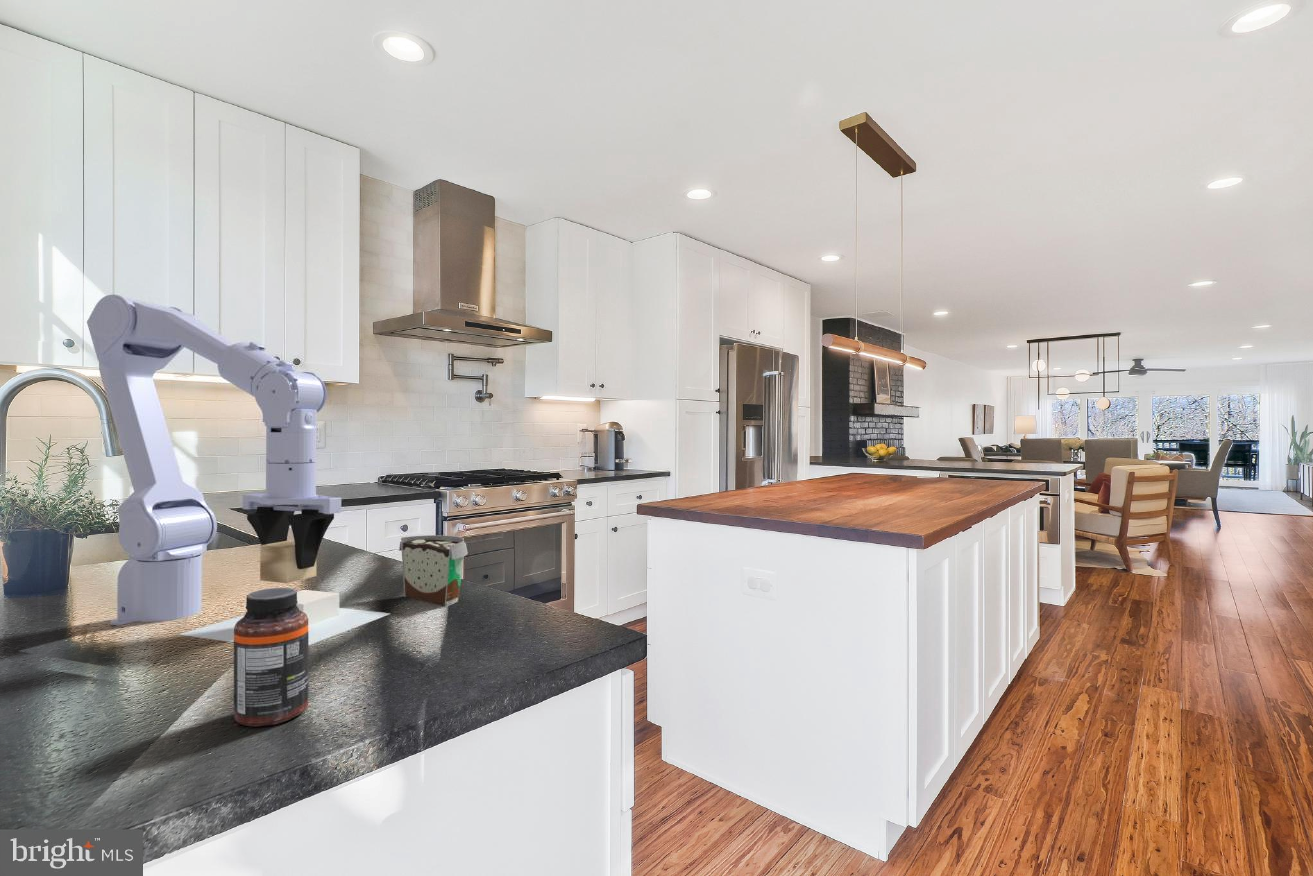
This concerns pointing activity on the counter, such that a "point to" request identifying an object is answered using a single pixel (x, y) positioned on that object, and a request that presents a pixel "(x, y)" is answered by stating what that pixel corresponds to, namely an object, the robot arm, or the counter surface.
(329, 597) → the base block
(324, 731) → the counter surface
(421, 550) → the food container
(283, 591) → the supplement bottle
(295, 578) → the maple block
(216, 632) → the white flat panel
